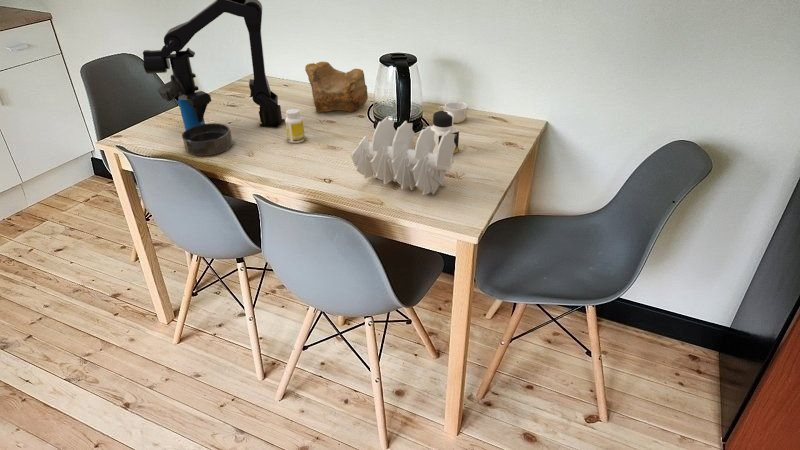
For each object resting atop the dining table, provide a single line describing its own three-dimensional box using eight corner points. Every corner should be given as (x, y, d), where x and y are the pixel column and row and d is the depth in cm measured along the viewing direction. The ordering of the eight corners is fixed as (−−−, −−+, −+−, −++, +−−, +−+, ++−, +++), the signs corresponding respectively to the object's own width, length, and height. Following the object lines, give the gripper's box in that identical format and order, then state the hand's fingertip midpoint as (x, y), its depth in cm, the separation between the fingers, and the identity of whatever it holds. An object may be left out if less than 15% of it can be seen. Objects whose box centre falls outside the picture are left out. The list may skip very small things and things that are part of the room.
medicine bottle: (438, 157, 159) (439, 119, 152) (426, 148, 164) (426, 111, 157) (458, 152, 161) (460, 114, 155) (446, 143, 167) (447, 106, 160)
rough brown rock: (293, 114, 191) (286, 74, 181) (315, 95, 203) (310, 56, 193) (351, 125, 184) (348, 84, 174) (371, 104, 196) (369, 65, 186)
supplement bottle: (308, 138, 172) (304, 109, 166) (298, 144, 167) (294, 115, 162) (294, 135, 173) (290, 106, 168) (284, 141, 169) (280, 112, 164)
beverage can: (200, 135, 175) (191, 100, 168) (182, 133, 176) (173, 98, 169) (209, 127, 180) (202, 93, 173) (192, 126, 181) (184, 92, 174)
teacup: (469, 118, 184) (470, 103, 181) (463, 126, 178) (464, 111, 175) (442, 114, 187) (442, 99, 184) (434, 122, 181) (435, 107, 178)
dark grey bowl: (240, 139, 171) (238, 124, 169) (219, 159, 160) (216, 143, 157) (200, 136, 174) (197, 121, 171) (176, 155, 162) (172, 140, 160)
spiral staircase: (377, 180, 155) (456, 196, 145) (344, 181, 140) (430, 199, 129) (386, 117, 152) (468, 129, 142) (353, 111, 137) (442, 123, 126)
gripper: (143, 71, 167) (155, 118, 176) (173, 84, 157) (184, 133, 165) (176, 63, 174) (186, 108, 183) (207, 75, 164) (216, 123, 172)
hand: (192, 118), depth 175 cm, fingers open, 9 cm apart
